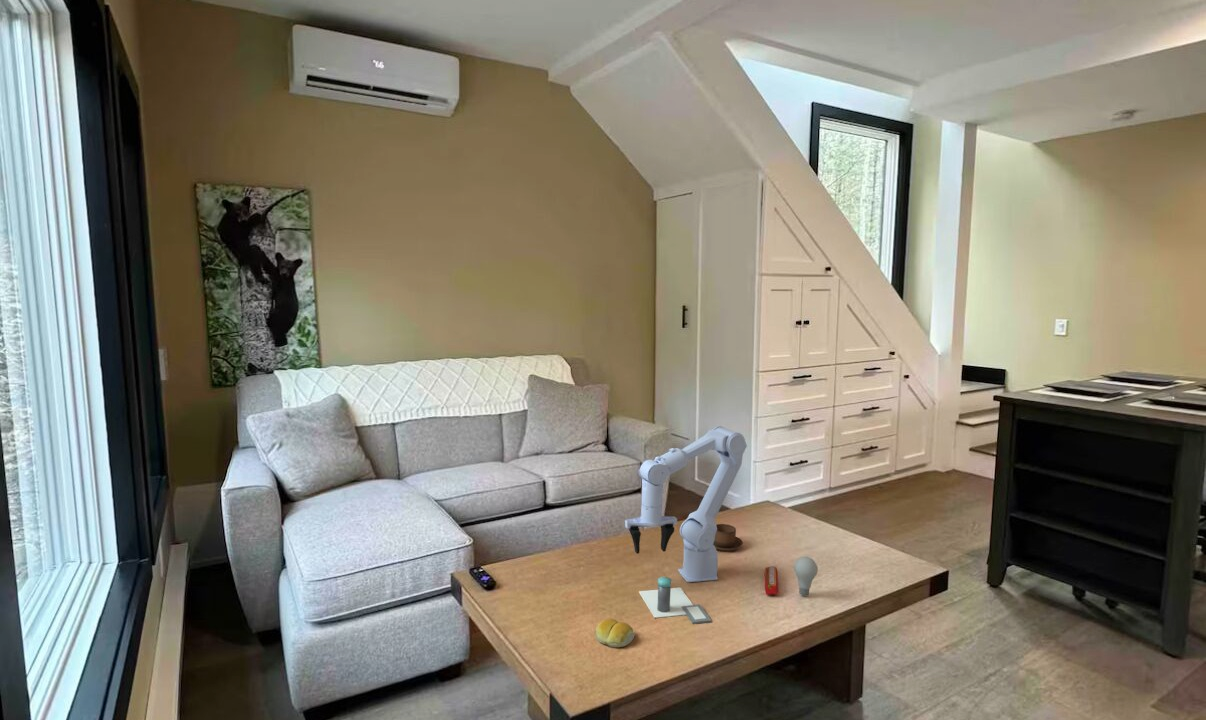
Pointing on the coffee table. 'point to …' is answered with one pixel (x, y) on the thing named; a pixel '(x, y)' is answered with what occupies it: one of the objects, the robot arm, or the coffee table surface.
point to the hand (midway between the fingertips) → (650, 551)
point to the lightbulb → (805, 574)
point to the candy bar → (771, 580)
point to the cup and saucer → (726, 538)
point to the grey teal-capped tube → (664, 594)
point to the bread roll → (614, 633)
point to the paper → (676, 602)
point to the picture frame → (696, 614)
